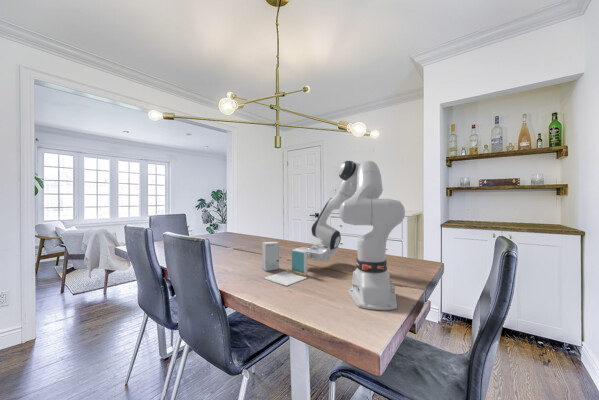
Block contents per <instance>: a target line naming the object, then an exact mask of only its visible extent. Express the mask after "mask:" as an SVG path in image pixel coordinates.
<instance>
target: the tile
mask: <svg viewBox="0 0 599 400" xmlns="http://www.w3.org/2000/svg"><path fill="white" fill-rule="evenodd" d="M291 270H294V271H298V272H301V273H305V274H308V257H307V252H306V251H300V250H295V248H294V249H291Z"/></svg>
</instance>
